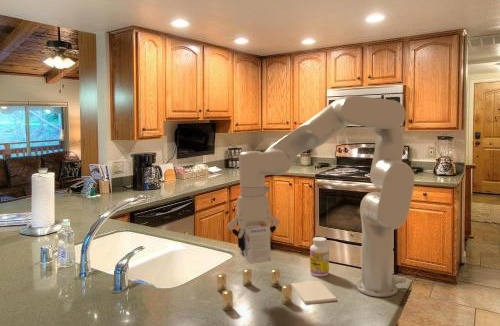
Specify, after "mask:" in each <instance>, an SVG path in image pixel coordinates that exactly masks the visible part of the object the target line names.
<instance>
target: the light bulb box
mask: <svg viewBox="0 0 500 326" xmlns="http://www.w3.org/2000/svg"><path fill="white" fill-rule="evenodd" d="M270 227H271V225H270V226H269V225H267V224H262V225H253V226H246V230H245V231H244V233H243V235H242V237H243V239H244V250H243V251H241V249H240V248H239V254H240V255H241V257H243V258H244V259H245V260H246V261H247V263H249V264H250V265H254V264H259V263H260V264H261V263H267V262H271V261H272V257H271V256H272V255H271V253H272V252H271V245H270Z"/></svg>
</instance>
